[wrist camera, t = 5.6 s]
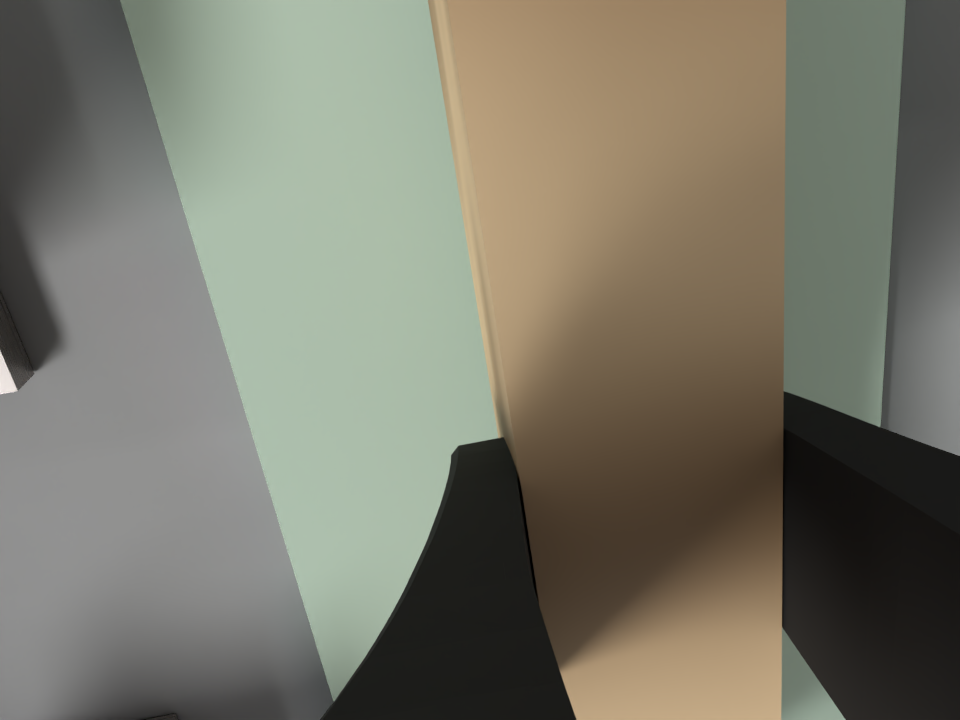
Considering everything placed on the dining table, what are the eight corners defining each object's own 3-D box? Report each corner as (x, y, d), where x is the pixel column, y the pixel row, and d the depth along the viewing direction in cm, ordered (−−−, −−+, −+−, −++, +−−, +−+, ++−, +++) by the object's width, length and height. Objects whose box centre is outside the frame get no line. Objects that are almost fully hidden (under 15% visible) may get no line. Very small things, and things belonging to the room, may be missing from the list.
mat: (842, 787, 18) (857, 812, 17) (397, 882, 17) (397, 911, 17) (908, -577, 9) (942, -617, 8) (-2, -455, 8) (-28, -487, 8)
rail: (714, 819, 15) (785, 991, 12) (562, 851, 15) (601, 1032, 12) (665, -314, 8) (803, -472, 5) (378, -269, 8) (376, -413, 5)
